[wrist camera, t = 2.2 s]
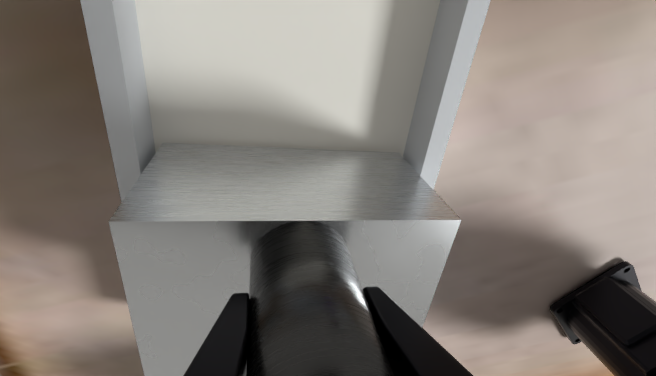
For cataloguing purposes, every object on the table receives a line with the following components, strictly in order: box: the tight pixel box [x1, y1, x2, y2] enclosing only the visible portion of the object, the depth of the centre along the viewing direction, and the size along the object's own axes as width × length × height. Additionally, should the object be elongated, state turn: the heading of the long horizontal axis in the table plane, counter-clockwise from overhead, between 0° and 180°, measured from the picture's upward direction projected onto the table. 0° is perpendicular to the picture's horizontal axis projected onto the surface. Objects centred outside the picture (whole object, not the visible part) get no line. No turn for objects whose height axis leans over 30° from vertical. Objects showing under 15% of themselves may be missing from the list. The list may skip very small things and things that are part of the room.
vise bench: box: [80, 0, 490, 202], centre depth 16 cm, size 33×13×8 cm, turn 173°
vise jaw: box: [109, 143, 461, 376], centre depth 12 cm, size 8×10×10 cm
